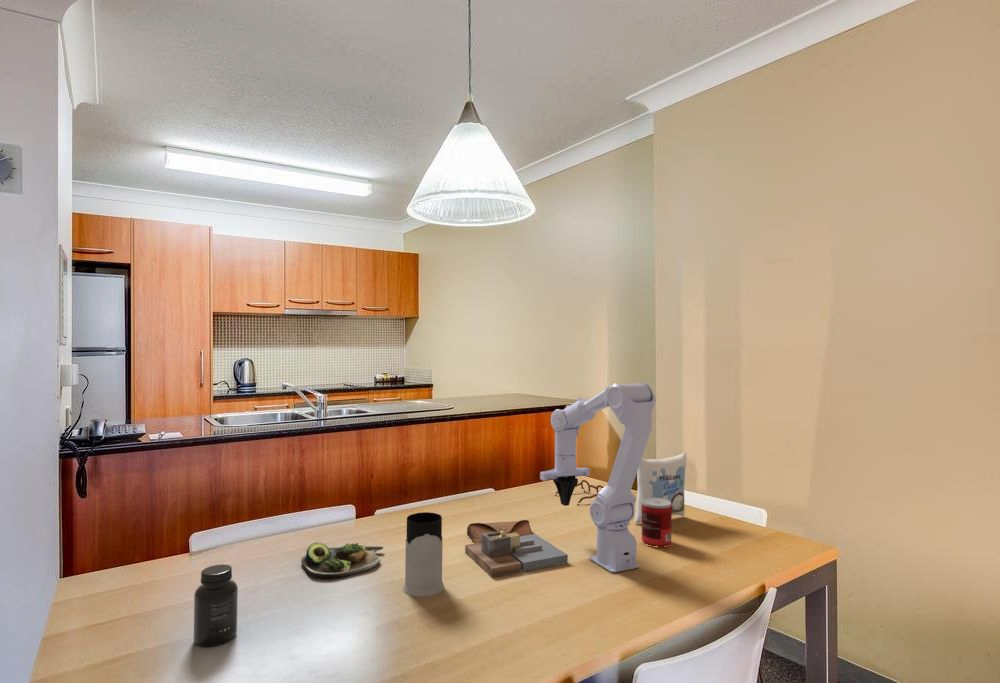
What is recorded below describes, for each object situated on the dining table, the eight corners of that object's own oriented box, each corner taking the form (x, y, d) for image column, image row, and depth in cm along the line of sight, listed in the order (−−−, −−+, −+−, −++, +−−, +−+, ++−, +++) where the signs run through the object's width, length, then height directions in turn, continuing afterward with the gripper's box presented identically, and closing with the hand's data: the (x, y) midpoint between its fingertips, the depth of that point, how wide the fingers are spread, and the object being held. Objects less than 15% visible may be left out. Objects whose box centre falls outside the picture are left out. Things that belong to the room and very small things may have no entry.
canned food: (668, 538, 150) (668, 497, 150) (674, 549, 142) (674, 506, 142) (639, 537, 151) (639, 496, 151) (644, 547, 143) (644, 505, 143)
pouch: (626, 520, 166) (626, 453, 166) (677, 513, 173) (678, 449, 173) (642, 528, 158) (642, 458, 158) (695, 521, 165) (696, 454, 165)
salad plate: (371, 544, 145) (371, 526, 145) (398, 567, 130) (398, 547, 130) (294, 559, 134) (295, 540, 134) (314, 586, 119) (314, 564, 119)
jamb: (521, 571, 127) (521, 544, 127) (491, 577, 124) (492, 549, 124) (492, 548, 142) (492, 524, 142) (465, 552, 138) (465, 528, 138)
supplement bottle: (243, 627, 101) (244, 561, 101) (226, 648, 94) (227, 577, 94) (205, 627, 101) (206, 561, 101) (185, 648, 94) (186, 577, 94)
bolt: (519, 550, 135) (519, 530, 135) (493, 554, 132) (493, 534, 132) (515, 546, 137) (515, 527, 137) (489, 551, 134) (489, 531, 134)
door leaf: (567, 563, 132) (567, 550, 133) (523, 571, 127) (523, 558, 127) (535, 541, 147) (535, 530, 147) (494, 548, 142) (494, 536, 142)
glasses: (607, 501, 187) (607, 486, 187) (576, 506, 181) (576, 491, 181) (582, 492, 199) (582, 478, 199) (553, 497, 192) (553, 482, 192)
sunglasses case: (473, 545, 143) (470, 519, 146) (468, 551, 149) (465, 526, 152) (539, 540, 148) (535, 515, 151) (531, 545, 153) (528, 521, 157)
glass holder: (405, 599, 113) (405, 525, 113) (398, 571, 127) (399, 505, 127) (447, 594, 115) (448, 522, 116) (436, 567, 129) (437, 503, 129)
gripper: (579, 449, 155) (579, 497, 155) (534, 453, 149) (534, 503, 149) (594, 454, 149) (594, 504, 149) (547, 458, 143) (547, 510, 143)
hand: (565, 504), depth 149 cm, fingers closed
